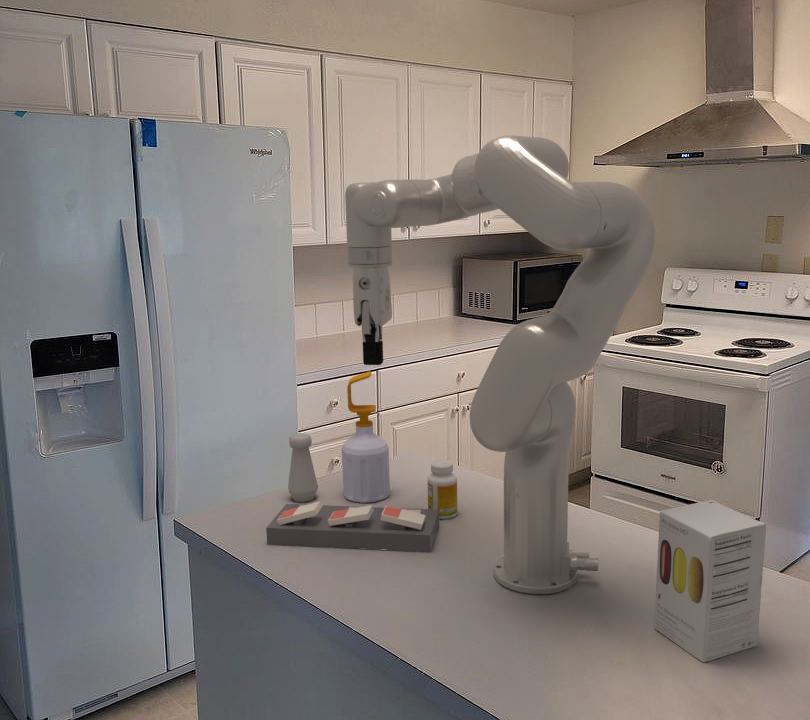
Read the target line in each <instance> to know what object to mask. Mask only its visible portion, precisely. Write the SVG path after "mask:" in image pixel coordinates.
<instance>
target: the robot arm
mask: <svg viewBox="0 0 810 720" xmlns="http://www.w3.org/2000/svg"><path fill="white" fill-rule="evenodd" d="M569 164H570V162H569V160H568V156H567V154H566V153H565V150H564V149H563V147H561V146H560V145H559V144H558V143H556V142H554V140H551V139H549V138H545V137H540V136H538V137H537V136H523V135H502V136H498V137H495V138H493V139H492V140H490V141H489V142H487V143H486V144H485V145H483V147H482V148H481V149H480V150H479V151H478V153H475V154H471V155H467V156H465V157H462V158H460V159H459V160H458V161H457V162H456V163H455V165H454V167H453V169H452V173H451V174H446V175H442V176H439V177H434V178H429V179H386V180H381V181H377V182H375V181H374V182H355V183H354V182H353V183H350V184H349V185H348V186H347V187H346V189H345V192H344V193H345V195H344V196H345V197H344V201H345V203H344V204H345V221H346V222H345V226H346V230H345V231H346V252H347V254H346V255H347V267H348V268H353V275H352V281H353V283H352V285H353V287H352V296H353V300H352V301H353V319H354V324H355V325H356V326H358V327H361V334H362V336H361V337H362V359H363V362H362V363H363V364H364V366H381V365H382V364H383V363H384V344H383V343H384V342H383V326H384V325H386V324H387V323H388V322H389V321H390V320H392V319H393V308H392V307H393V306H392V305H393V304H392V293H391V281H390V280H391V279H390V271H389V270H390V269H389V267H392V266H393V248H392V247H393V241H392V240H393V239H392V229H400V228H401V229H402V228H409V227H410V228H411V227H428V226H429V227H430V226H435V225H440V224H444V223H449V222H453V221H457V220H463V219H467V218H469V217H474V216H477V215H480V214H484V213H489V212H493V211H496V210H500V211H501V212H503V213H504V214H505V215H506V216H508V217H509V218H510V219H511V220H512V221H514V222H515V223H516V224H518V225H519V226H521V228H522V229H524V230H526V231H527V232H528V233H529V234H530V235H532V236H533V237H534V238H536V239H537V240H538V241H539V242H541V243H542V244H544V245H545V246H548V247H550V248H553V249H555V250H558V251H559V250H560V251H565V252H567V251H569V252H570V251H571V252H572V251H579V250H586V249H587V250H588V249H589V251H588V252H587V254H586V256H585V258H584V259H583V260H582V261H581V263H580V264H579V265H577V267H576V268H575V270H574V271H573V273H572V274H571V275H570V276H569V278H568V280H567V281H566V284H565V285H564V288H563V291H562V293H561V294H560V296H559V298H558V299H557V301H556V303H555V305H554V306H553V308H552V309H551V310H550V311H549V312H548V313H546V314H544V315H543V316H538V317H534V318H531V319H527V320H525V321H522V322H519V323H518V324H516V325H515V326H514V327H512V328H511V329H510V330H509V331H508V332H507V333H506V334H505V336H504V337H503V338H502V340H501V341H500V343H498V346H497V349H495V350H496V351H495V352H494V354H493V356H492V358H491V361H490V362H489V365H488V366H487V368H486V371H485V372H484V375H483V376H482V378H481V381H480V383H479V385H478V387H477V388H476V391H475V393H474V395H473V398H472V401H471V405H470V408H469V424H470V428H471V432H472V434H473V436H474V438H475V440H477V442H478V443H479V444H480V445H481V446H482V447H484V448H485V449H487V450H490V451H493V452H497V453H498V452H499V453H504V459H503V460H504V462H503V556H502V557H501V558H499V559H498V560H496V562H495V563H494V565H493V577H494V578H495V580H496V582H498V583H499V585H501V586H503V587H505V588H506V589H510V590H512V591H515V592H519V593H524V594H531V595H546V594H547V595H549V594H554V593H555V594H556V593H559V592H563V591H565V590H568V589H570V588H571V587H572V586H574V584H575V583H576V582H577V579H578V571H586V572H599V557H590V552H583V551H582V552H581V551H580V552H577V551H575V552H574V550H572V549H571V550H570V542H569V541H568V525H569V524H568V519H569V517H568V516H569V513H568V512H569V507H568V506H569V475H570V474H569V469H570V467H569V466H570V465H569V463H570V451H571V449H570V448H571V443H572V434H573V431H574V430H573V429H574V426H575V421H576V420H575V419H576V412H577V411H576V410H577V408H576V406H577V405H576V400H575V398H576V397H575V394H574V392H573V390H572V388H571V386H570V384H569V383H568V382H571V381H574V380H575V379H576V380H577V379H579V378H581V377H583V376H585V375H586V374H588V372H590V371H591V370H592V369H593V368H594V366H595V365H596V363H597V361H598V360H599V357H600V356H601V354H602V352H603V350H604V349H605V346H606V344H607V343H608V341H609V340H610V338H611V336H612V334H613V332H614V330H615V329H616V327H617V325H618V323H619V321H621V320H620V319H621V318H622V316H623V314H624V312H625V310H626V309H627V306H628V305H629V303H630V301H631V300H632V297H634V295H635V293H636V291H637V289H638V288H639V286H640V284H641V282H642V281H643V278H644V277H645V275H646V273H647V271H648V268H649V266H650V263H651V261H652V257H653V254H654V249H655V241H656V239H655V238H656V235H655V234H656V233H655V225H654V221H653V218H652V214H651V212H650V210H649V207H648V206H647V204H646V203H645V201H644V200H643V198H642V197H641V196H640V195H639V194H638V193H637V192H636V191H634V190H633V189H631V188H630V187H628V186H627V185H626V186H625V185H624V184H620V183H617V182H610V181H609V182H608V181H586V182H585V181H582V182H581V181H580V182H576V181H575V182H573V181H572V180H570V179H568V176H569V173H570V166H569Z"/></svg>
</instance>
